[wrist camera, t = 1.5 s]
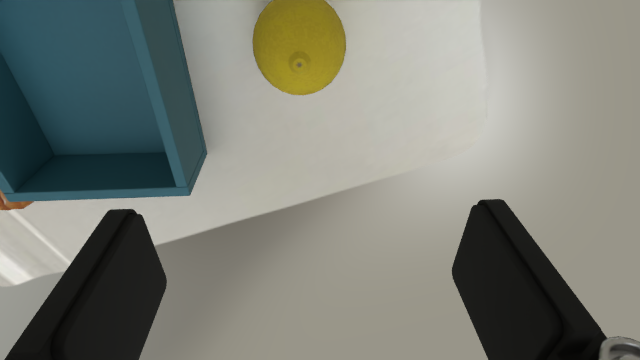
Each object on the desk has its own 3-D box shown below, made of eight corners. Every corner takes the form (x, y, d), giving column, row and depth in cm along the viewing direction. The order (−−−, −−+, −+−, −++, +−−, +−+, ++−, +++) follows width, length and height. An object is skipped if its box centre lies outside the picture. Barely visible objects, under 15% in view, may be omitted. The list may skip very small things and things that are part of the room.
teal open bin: (-67, -72, 20) (-178, -72, 15) (156, -73, 21) (113, -74, 16) (55, 158, 29) (8, 202, 24) (207, 153, 30) (190, 196, 25)
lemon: (335, -22, 23) (350, -2, 16) (341, 64, 26) (356, 109, 19) (251, -11, 23) (231, 13, 16) (267, 73, 26) (257, 121, 19)
